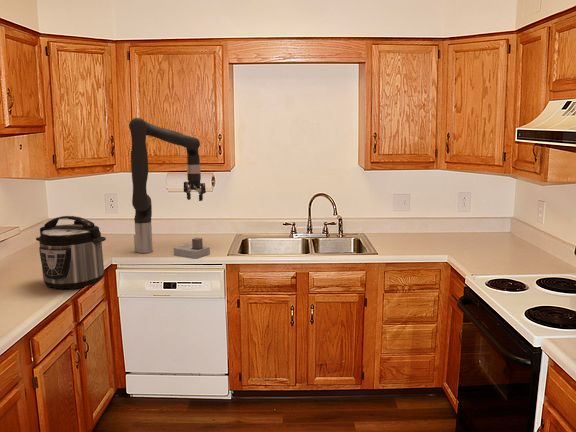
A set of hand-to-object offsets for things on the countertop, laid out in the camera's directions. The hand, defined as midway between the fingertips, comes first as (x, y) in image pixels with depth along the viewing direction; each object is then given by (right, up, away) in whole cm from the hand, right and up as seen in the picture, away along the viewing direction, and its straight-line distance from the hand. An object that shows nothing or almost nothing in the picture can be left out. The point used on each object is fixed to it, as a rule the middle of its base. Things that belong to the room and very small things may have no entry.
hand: (194, 200), depth 326 cm
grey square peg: (+4, -30, -13) cm, 32 cm away
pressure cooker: (-47, -41, -60) cm, 87 cm away
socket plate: (0, -31, -10) cm, 32 cm away
